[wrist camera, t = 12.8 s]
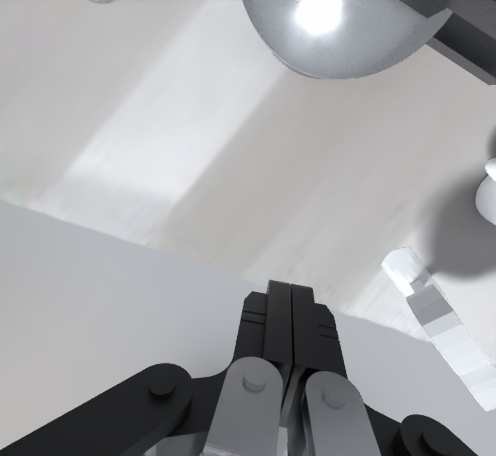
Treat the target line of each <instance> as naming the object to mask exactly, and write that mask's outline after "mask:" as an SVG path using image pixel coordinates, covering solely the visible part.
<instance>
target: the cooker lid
mask: <svg viewBox="0 0 496 456" xmlns="http://www.w3.org/2000/svg"><path fill="white" fill-rule="evenodd" d="M243 3H244V6H245V9H246V11H247V13H248V15H249V18H250V20H251V22H252V24H253V26H254V28H255V29H256V31H257V33H258V34H259V36H260V38H261V39H262V40H263V42H264V43H265V44H266V45H267V46H268V48H269V49H270V50H271V51H272V52H273V53H274V54H275V55H276V56H277V57H278V58H279V59H281V60H282V61H283V62H285V63H286V64H288V65H289V66H291V67H292V68H294V69H296V70H298V71H300V72H302V73H305V74H308V75H311V76H314V77H318V78H324V79H335V80H344V79H353V78H359V77H363V76H367V75H371V74H375V73H377V72H380V71H382V70H385V69H387V68H390V67H391V66H393V65H395V64H397V63H399V62H401V61H403V60H404V59H406V58H407V57H408V56H410V55H411V54H413V53H414V52H416V51H417V50H418V49H419V48H421V47H422V46H423V45H424V44H425V43H426V42H427V41H429V40H430V39H431V38H432V37H433V36H434V35H435V34H436V32H437V31H438V30H439V29H440V28H441V27H442V26H443V25H444V24H445V22H446V21H447V20H448V18H449V17H450V16H451V14H452V13H453V12H454V13H456V14H457V15H459V16H460V17H462V18H463V19H465V20H466V21H468V22H469V23H471V24H472V25H474V26H475V27H477V28H478V29H480V30H481V31H483V32H485V33H486V34H488V35H489V36H491V37H492V38H494V39H495V40H496V0H243Z"/></svg>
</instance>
